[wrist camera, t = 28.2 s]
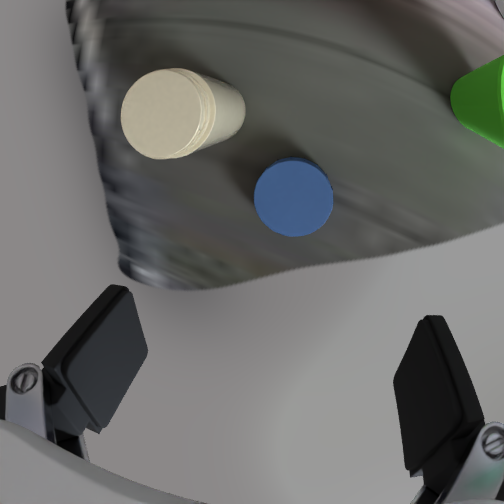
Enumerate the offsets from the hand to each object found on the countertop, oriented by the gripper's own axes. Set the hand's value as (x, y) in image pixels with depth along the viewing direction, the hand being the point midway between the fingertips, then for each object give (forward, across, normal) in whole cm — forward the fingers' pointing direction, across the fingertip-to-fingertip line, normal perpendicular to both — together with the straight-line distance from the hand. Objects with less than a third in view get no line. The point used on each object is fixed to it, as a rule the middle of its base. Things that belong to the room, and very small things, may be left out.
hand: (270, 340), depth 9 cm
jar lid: (+18, 0, +1) cm, 18 cm away
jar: (+19, +7, -6) cm, 22 cm away
